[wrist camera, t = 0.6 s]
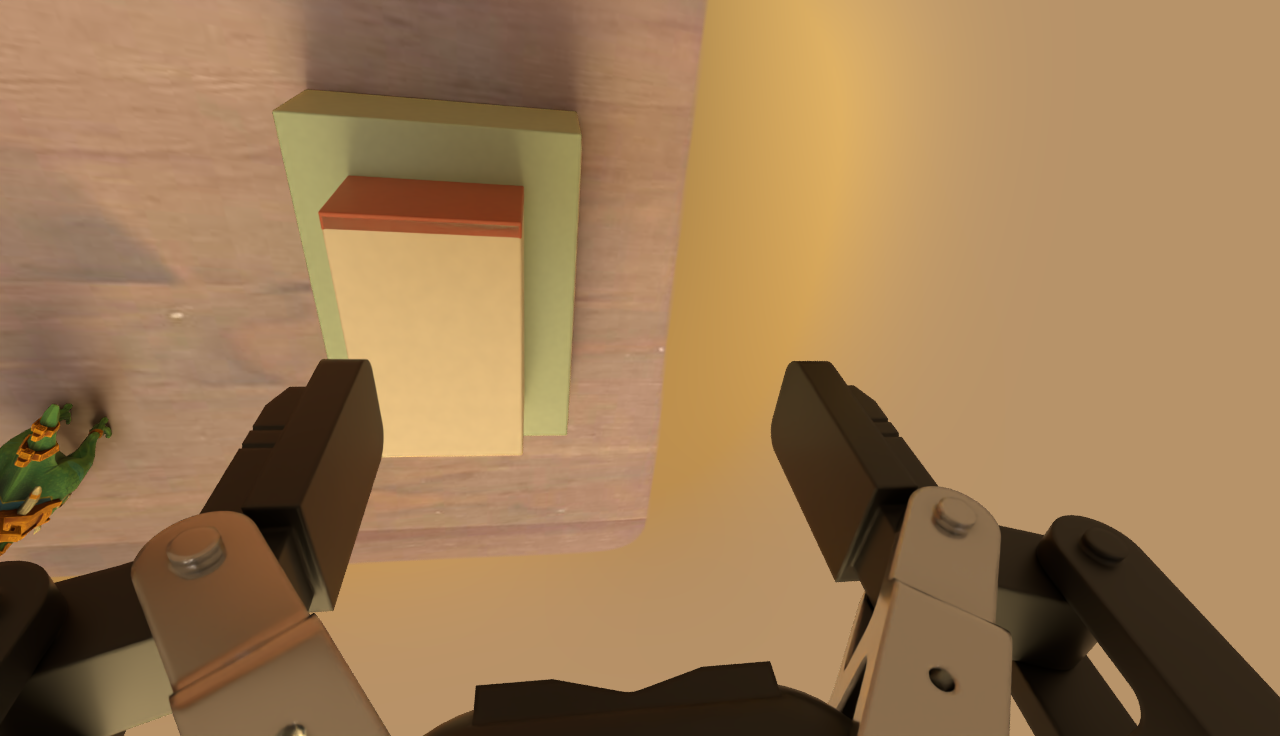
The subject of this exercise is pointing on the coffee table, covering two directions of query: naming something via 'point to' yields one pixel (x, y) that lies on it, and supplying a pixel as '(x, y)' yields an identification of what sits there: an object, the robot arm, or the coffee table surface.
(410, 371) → the top book
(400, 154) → the bottom book
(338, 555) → the robot arm
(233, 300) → the coffee table surface
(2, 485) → the figurine
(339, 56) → the coffee table surface
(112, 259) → the coffee table surface
